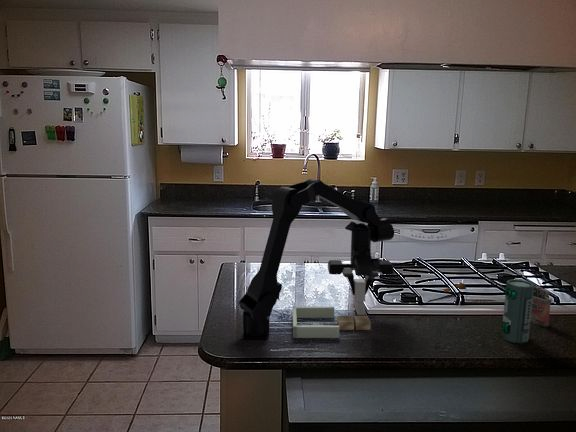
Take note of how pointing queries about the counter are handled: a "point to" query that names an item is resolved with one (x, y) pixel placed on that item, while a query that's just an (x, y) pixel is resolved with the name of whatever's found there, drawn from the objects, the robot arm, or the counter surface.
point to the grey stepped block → (359, 296)
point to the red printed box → (540, 307)
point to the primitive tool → (460, 286)
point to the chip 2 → (362, 322)
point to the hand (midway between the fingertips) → (359, 294)
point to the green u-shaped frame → (314, 330)
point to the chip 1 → (345, 322)
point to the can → (517, 310)
